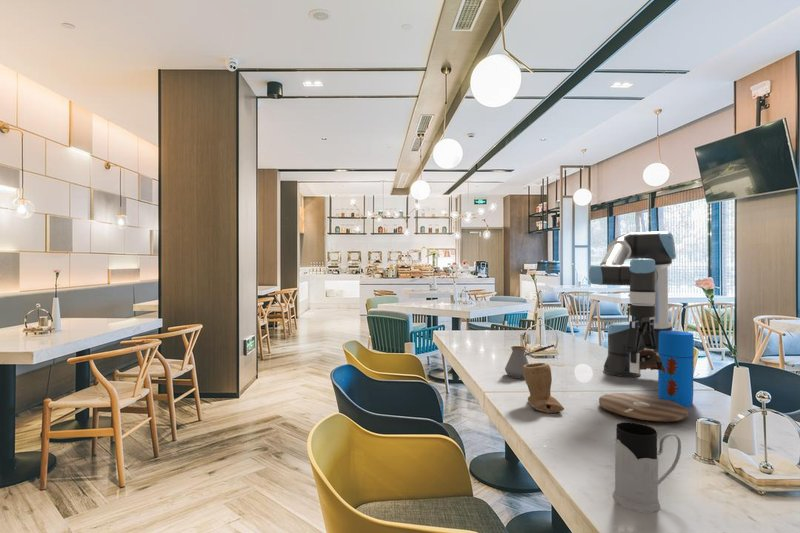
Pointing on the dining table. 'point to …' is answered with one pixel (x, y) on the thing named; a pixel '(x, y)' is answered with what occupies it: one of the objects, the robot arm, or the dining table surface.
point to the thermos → (676, 367)
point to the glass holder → (639, 466)
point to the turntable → (643, 407)
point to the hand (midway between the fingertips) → (641, 370)
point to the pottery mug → (650, 361)
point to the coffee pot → (519, 361)
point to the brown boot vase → (540, 387)
